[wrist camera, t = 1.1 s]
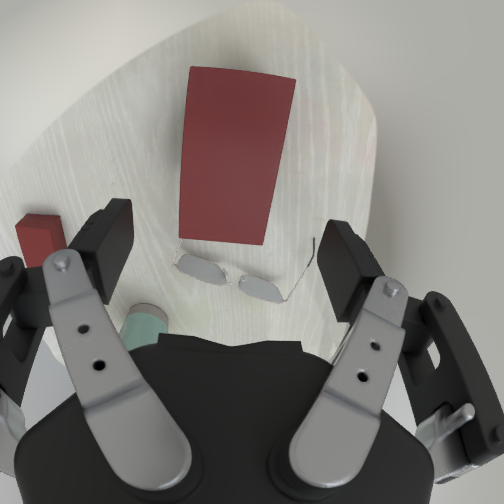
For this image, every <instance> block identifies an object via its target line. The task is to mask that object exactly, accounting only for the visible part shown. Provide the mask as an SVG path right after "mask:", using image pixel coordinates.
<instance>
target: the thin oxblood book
mask: <svg viewBox="0 0 504 504" xmlns="http://www.w3.org/2000/svg"><path fill="white" fill-rule="evenodd" d="M295 84H296V79H292V78H287V77H281V76H276V75H270V74H263V73H257V72H249V71H242V70H233V69H223V68H211V67H195V66H191V67H190V72H189V80H188V89H187V98H186V108H185V119H184V131H183V144H182V159H181V177H180V201H179V238H184V239H195V240H207V241H218V242H229V243H240V244H251V245H263V241H264V237H265V232H266V227H267V222H268V217H269V213H270V208H271V203H272V198H273V193H274V188H275V184H276V179H277V174H278V169H279V164H280V159H281V154H282V149H283V144H284V139H285V134H286V129H287V124H288V119H289V114H290V109H291V104H292V99H293V94H294V89H295Z"/></svg>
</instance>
